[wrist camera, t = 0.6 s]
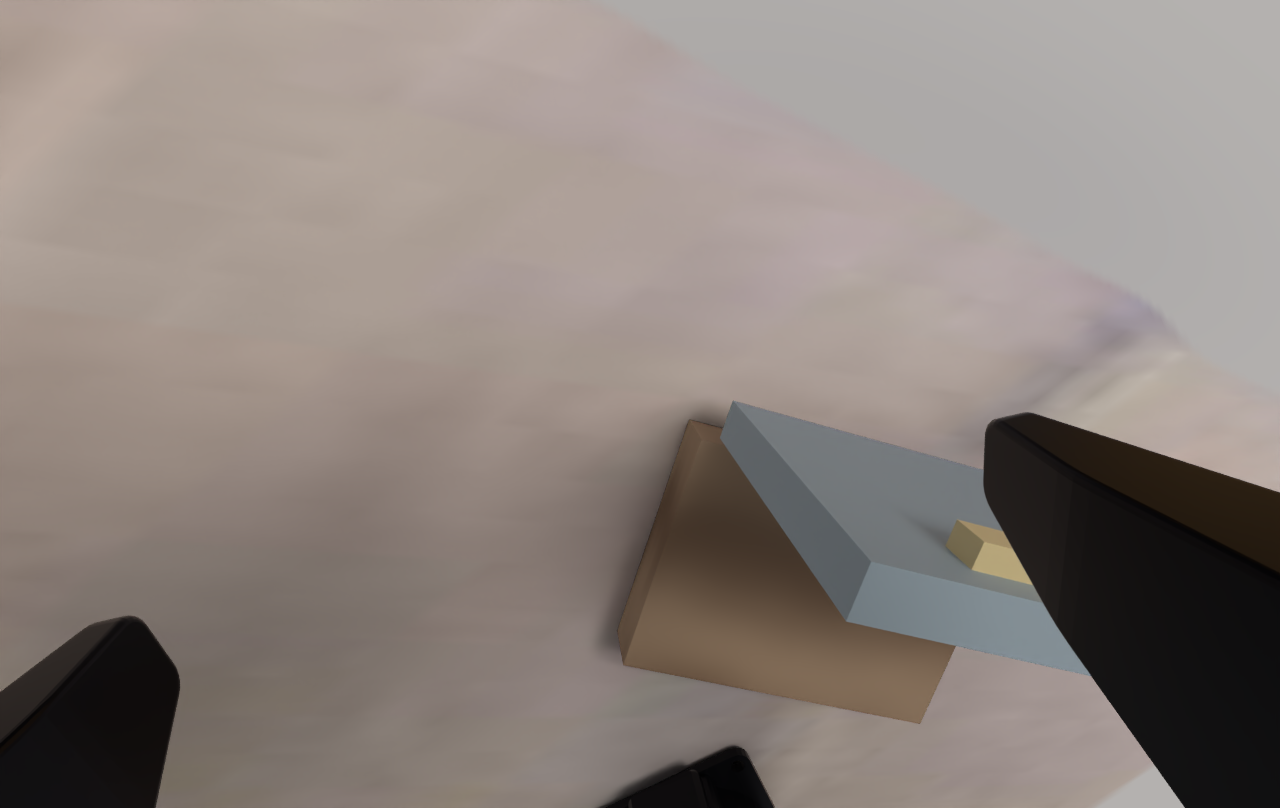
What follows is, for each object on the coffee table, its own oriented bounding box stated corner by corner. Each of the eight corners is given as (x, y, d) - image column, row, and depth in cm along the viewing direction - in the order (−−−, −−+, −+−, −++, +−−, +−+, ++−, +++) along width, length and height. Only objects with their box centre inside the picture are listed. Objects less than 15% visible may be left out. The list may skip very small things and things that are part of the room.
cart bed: (895, 688, 30) (919, 723, 28) (617, 630, 27) (623, 665, 25) (980, 497, 28) (1013, 521, 26) (689, 419, 26) (701, 439, 24)
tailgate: (1006, 514, 25) (1289, 720, 16) (719, 438, 23) (846, 621, 14) (1029, 463, 25) (1334, 644, 15) (739, 381, 23) (883, 530, 13)
